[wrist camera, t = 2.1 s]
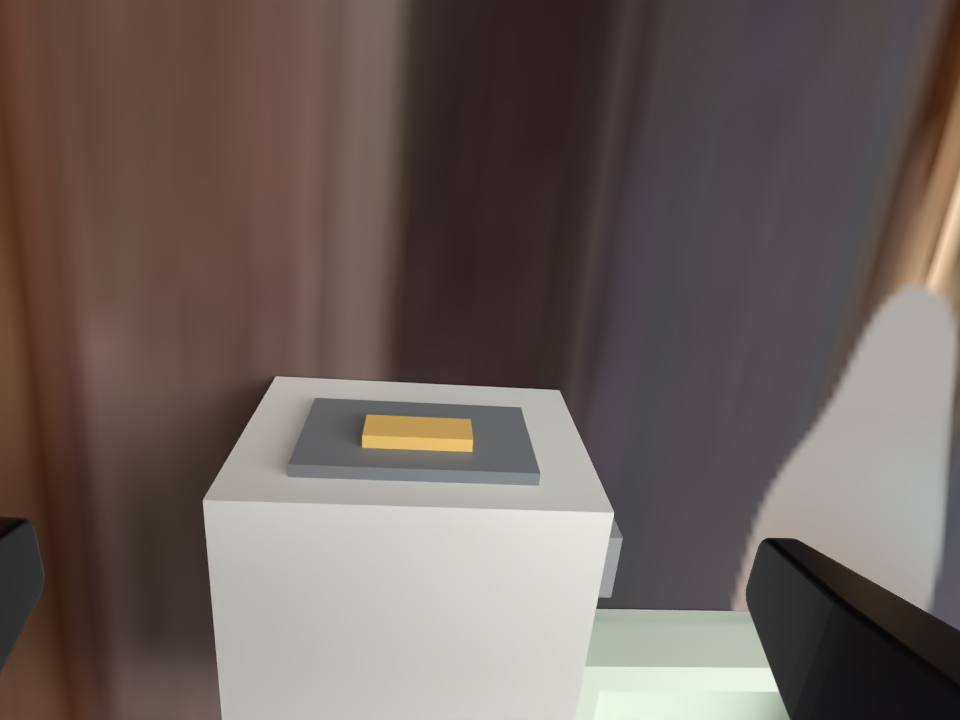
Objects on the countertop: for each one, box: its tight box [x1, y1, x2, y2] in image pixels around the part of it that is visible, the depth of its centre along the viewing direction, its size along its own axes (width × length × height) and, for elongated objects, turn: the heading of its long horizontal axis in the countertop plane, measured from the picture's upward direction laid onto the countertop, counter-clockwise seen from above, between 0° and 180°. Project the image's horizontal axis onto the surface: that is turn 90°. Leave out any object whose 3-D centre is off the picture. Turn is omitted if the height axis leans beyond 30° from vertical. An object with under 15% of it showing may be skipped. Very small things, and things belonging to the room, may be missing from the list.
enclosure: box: [203, 376, 623, 720], centre depth 17 cm, size 9×10×6 cm
